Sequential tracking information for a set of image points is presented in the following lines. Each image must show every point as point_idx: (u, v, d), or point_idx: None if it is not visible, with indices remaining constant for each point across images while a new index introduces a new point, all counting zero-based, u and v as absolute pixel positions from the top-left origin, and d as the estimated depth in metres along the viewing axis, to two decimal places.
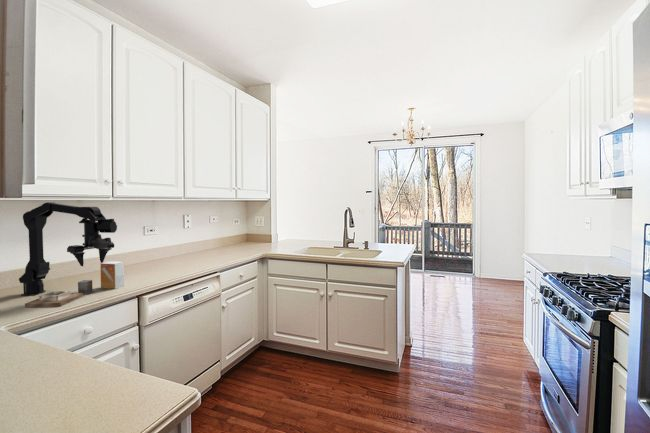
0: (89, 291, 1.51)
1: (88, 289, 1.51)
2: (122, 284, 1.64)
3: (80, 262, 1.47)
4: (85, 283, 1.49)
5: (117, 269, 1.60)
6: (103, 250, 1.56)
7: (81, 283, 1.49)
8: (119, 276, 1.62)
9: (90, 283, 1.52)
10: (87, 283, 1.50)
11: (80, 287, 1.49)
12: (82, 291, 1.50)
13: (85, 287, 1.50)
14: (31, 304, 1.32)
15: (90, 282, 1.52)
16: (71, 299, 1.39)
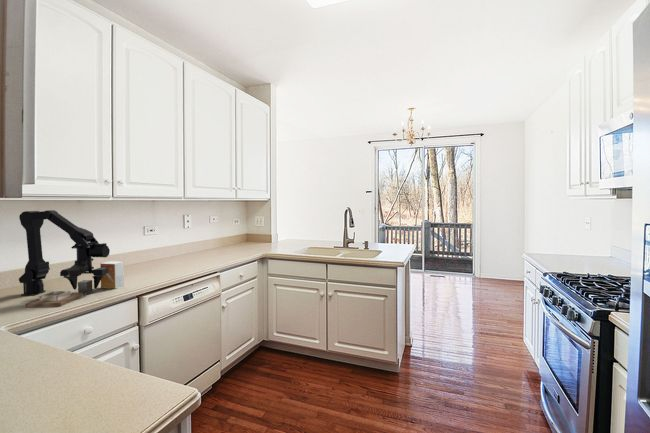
0: (89, 291, 1.51)
1: (88, 289, 1.51)
2: (122, 284, 1.64)
3: None
4: (85, 283, 1.49)
5: (117, 269, 1.60)
6: None
7: (81, 283, 1.49)
8: (119, 276, 1.62)
9: (90, 283, 1.52)
10: (87, 283, 1.50)
11: (80, 287, 1.49)
12: (82, 291, 1.50)
13: (85, 287, 1.50)
14: (31, 304, 1.32)
15: (90, 282, 1.52)
16: (71, 299, 1.39)
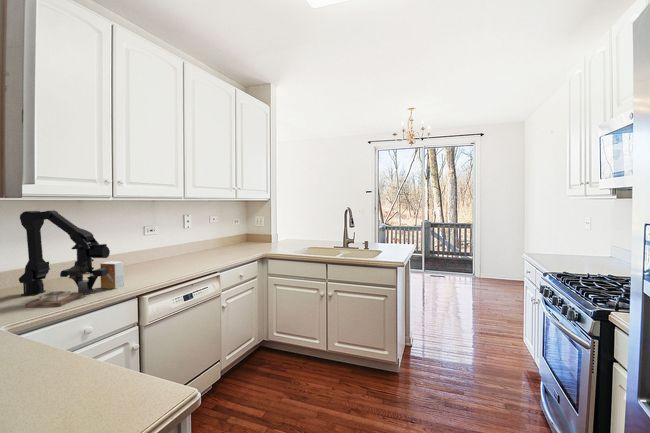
0: (89, 291, 1.51)
1: (88, 289, 1.51)
2: (122, 284, 1.64)
3: None
4: (85, 283, 1.49)
5: (117, 269, 1.60)
6: None
7: (81, 283, 1.49)
8: (119, 276, 1.62)
9: None
10: (87, 283, 1.50)
11: (80, 287, 1.49)
12: (82, 291, 1.50)
13: (85, 287, 1.50)
14: (31, 304, 1.32)
15: None
16: (71, 299, 1.39)
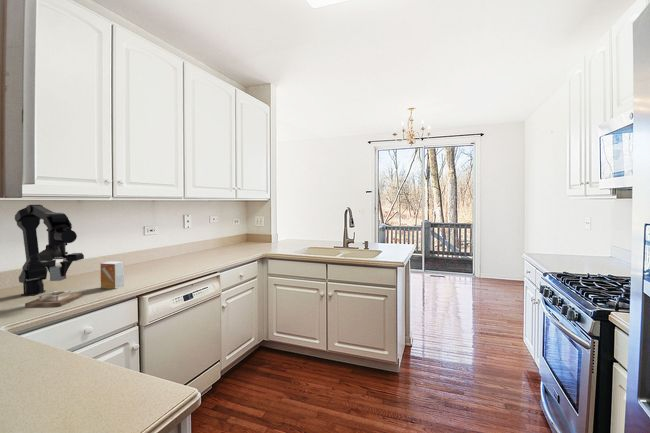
0: (62, 277, 1.40)
1: (61, 275, 1.39)
2: (122, 284, 1.64)
3: None
4: (58, 268, 1.38)
5: (117, 269, 1.60)
6: None
7: (53, 268, 1.38)
8: (119, 276, 1.62)
9: None
10: (60, 268, 1.38)
11: (52, 273, 1.38)
12: (54, 277, 1.38)
13: (58, 273, 1.38)
14: (31, 304, 1.32)
15: None
16: (71, 299, 1.39)
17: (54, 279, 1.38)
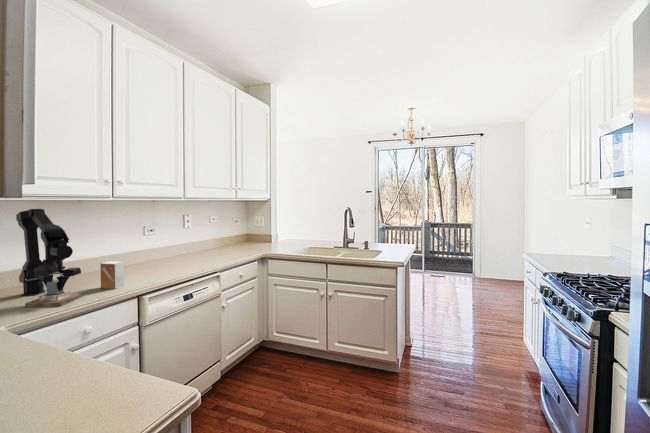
0: (59, 292, 1.39)
1: (58, 290, 1.38)
2: (122, 284, 1.64)
3: None
4: (54, 284, 1.37)
5: (117, 269, 1.60)
6: None
7: (50, 284, 1.37)
8: (119, 276, 1.62)
9: None
10: (57, 284, 1.37)
11: (49, 288, 1.37)
12: (51, 292, 1.37)
13: (54, 288, 1.37)
14: (31, 304, 1.32)
15: None
16: (71, 299, 1.39)
17: (51, 294, 1.37)
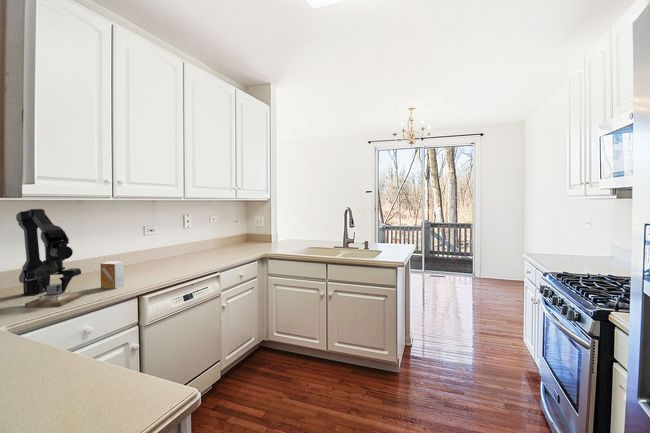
0: None
1: (58, 293, 1.38)
2: (122, 284, 1.64)
3: None
4: (54, 287, 1.37)
5: (117, 269, 1.60)
6: None
7: (50, 287, 1.37)
8: (119, 276, 1.62)
9: (61, 287, 1.40)
10: (57, 287, 1.38)
11: (49, 291, 1.37)
12: None
13: (54, 291, 1.37)
14: (31, 304, 1.32)
15: (61, 286, 1.40)
16: (71, 299, 1.39)
17: None
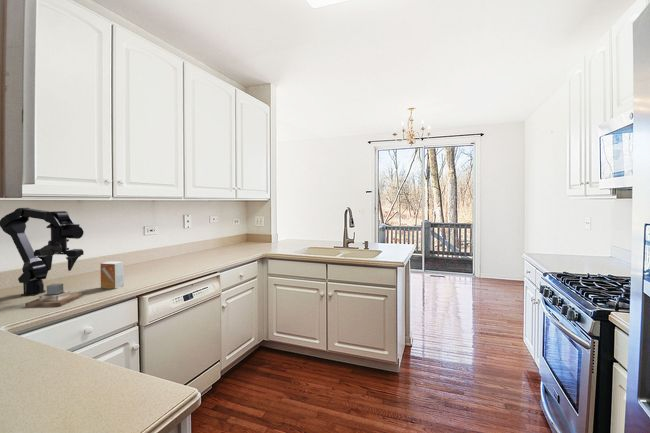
0: None
1: (58, 293, 1.38)
2: (122, 284, 1.64)
3: None
4: (54, 287, 1.37)
5: (117, 269, 1.60)
6: None
7: (50, 287, 1.37)
8: (119, 276, 1.62)
9: (61, 287, 1.40)
10: (57, 287, 1.38)
11: (49, 291, 1.37)
12: None
13: (54, 291, 1.37)
14: (31, 304, 1.32)
15: (61, 286, 1.40)
16: (71, 299, 1.39)
17: None
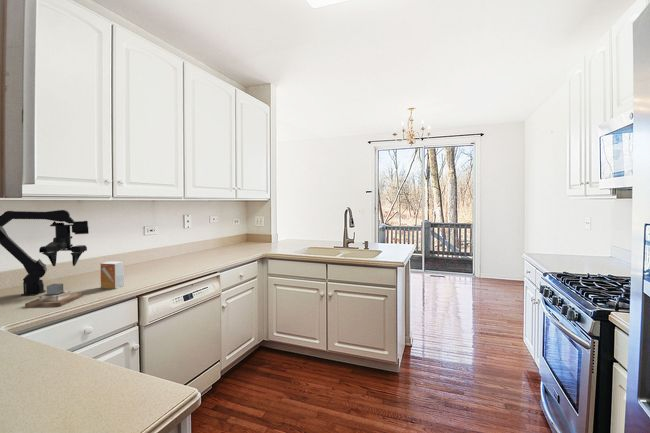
0: None
1: (58, 293, 1.38)
2: (122, 284, 1.64)
3: None
4: (54, 287, 1.37)
5: (117, 269, 1.60)
6: None
7: (50, 287, 1.37)
8: (119, 276, 1.62)
9: (61, 287, 1.40)
10: (57, 287, 1.38)
11: (49, 291, 1.37)
12: None
13: (54, 291, 1.37)
14: (31, 304, 1.32)
15: (61, 286, 1.40)
16: (71, 299, 1.39)
17: None
